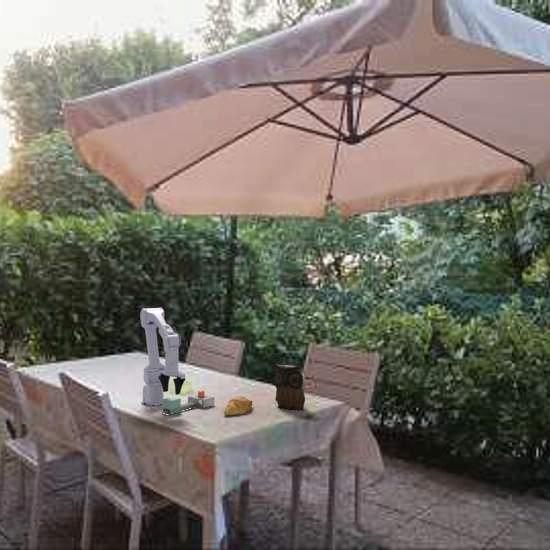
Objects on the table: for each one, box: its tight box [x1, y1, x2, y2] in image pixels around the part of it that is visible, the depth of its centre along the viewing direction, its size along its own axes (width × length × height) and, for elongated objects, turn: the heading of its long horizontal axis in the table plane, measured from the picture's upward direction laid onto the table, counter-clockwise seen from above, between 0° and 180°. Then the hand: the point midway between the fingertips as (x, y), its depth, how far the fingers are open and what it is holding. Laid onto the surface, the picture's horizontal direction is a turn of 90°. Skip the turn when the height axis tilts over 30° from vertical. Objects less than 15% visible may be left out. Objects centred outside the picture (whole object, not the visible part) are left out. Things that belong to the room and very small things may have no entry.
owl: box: [274, 363, 306, 411], centre depth 325 cm, size 13×13×20 cm
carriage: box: [162, 396, 182, 415], centre depth 314 cm, size 5×6×6 cm
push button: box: [197, 390, 206, 398], centre depth 328 cm, size 3×3×4 cm
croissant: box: [223, 396, 253, 416], centre depth 318 cm, size 21×10×8 cm, turn 150°
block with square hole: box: [187, 393, 215, 409], centre depth 328 cm, size 10×7×4 cm
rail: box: [162, 402, 199, 414], centre depth 318 cm, size 3×19×2 cm, turn 142°
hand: (171, 392), depth 314 cm, fingers open, 7 cm apart
